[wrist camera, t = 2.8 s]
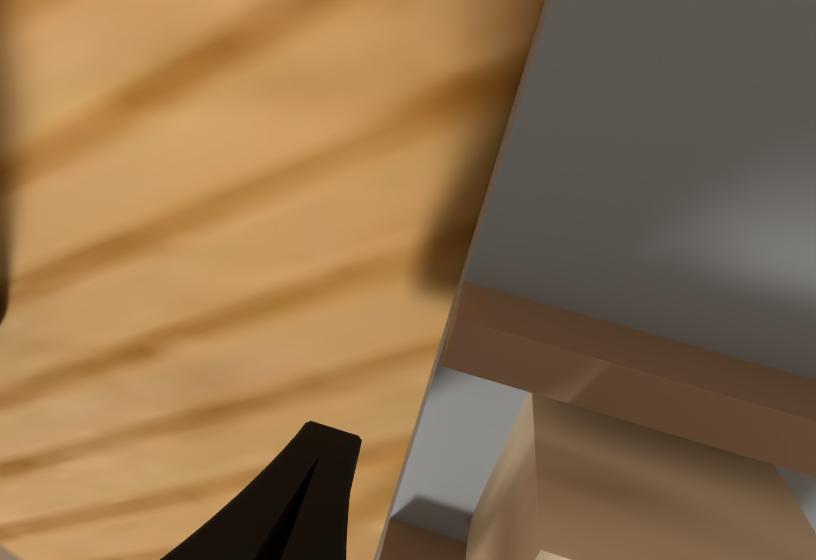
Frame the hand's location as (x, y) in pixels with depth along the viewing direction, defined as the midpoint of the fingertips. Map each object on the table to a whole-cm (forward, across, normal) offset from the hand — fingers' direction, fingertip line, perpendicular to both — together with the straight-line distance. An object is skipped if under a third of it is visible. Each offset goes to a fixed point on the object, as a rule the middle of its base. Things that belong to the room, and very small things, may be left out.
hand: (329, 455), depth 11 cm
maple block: (+1, -7, 0) cm, 7 cm away
